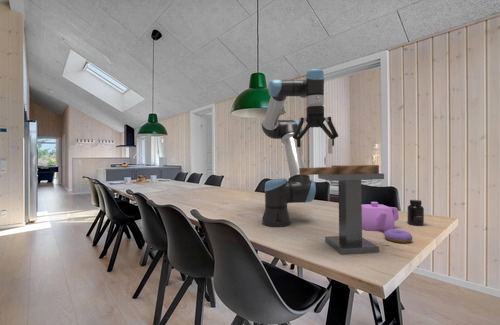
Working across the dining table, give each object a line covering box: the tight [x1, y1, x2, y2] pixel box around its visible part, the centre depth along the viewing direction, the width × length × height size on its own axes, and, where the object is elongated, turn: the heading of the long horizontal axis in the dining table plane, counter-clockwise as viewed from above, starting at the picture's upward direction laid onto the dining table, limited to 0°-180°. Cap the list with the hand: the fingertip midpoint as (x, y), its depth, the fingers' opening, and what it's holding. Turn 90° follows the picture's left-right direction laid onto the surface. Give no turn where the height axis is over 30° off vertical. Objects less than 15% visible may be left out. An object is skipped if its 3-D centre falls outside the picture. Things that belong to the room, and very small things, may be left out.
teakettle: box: [362, 201, 400, 232], centre depth 121 cm, size 17×17×12 cm
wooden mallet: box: [299, 164, 380, 176], centre depth 94 cm, size 28×9×3 cm, turn 96°
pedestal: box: [317, 172, 385, 255], centre depth 95 cm, size 20×14×28 cm
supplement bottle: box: [407, 199, 425, 227], centre depth 125 cm, size 7×7×12 cm
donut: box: [383, 228, 413, 244], centre depth 102 cm, size 10×9×5 cm
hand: (315, 154), depth 112 cm, fingers open, 13 cm apart
